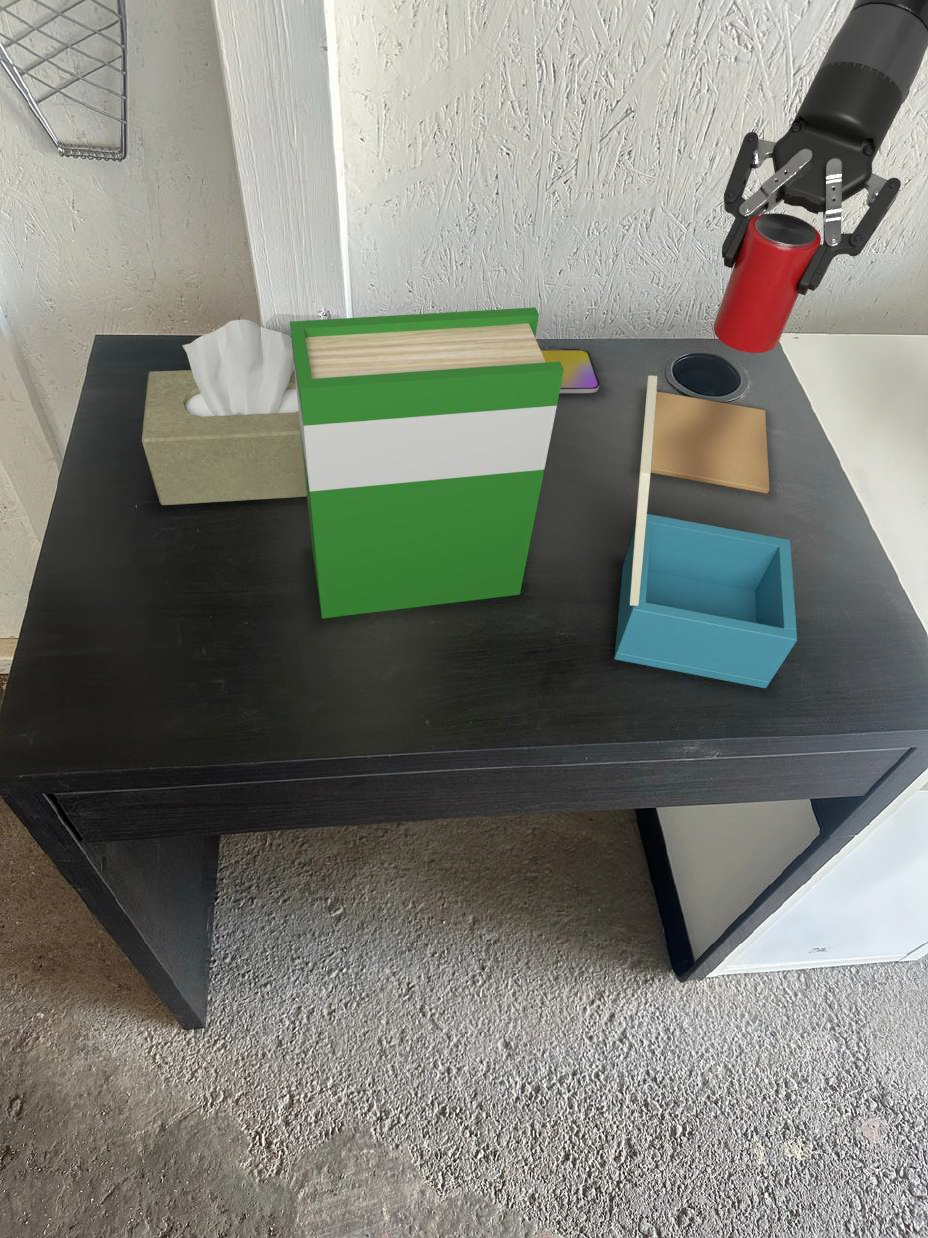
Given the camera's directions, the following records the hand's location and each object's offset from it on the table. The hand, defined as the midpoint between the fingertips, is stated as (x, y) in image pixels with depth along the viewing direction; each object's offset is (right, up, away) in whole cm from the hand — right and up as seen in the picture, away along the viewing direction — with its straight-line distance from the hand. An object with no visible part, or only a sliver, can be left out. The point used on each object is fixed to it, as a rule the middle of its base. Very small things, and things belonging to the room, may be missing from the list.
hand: (764, 277), depth 75 cm
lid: (-12, -20, -10) cm, 26 cm away
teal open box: (-6, -30, +1) cm, 31 cm away
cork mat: (-1, -11, +17) cm, 20 cm away
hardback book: (-31, -26, +3) cm, 40 cm away
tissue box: (-47, -15, +10) cm, 50 cm away
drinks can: (0, -3, +6) cm, 7 cm away
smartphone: (-19, -2, +22) cm, 29 cm away
